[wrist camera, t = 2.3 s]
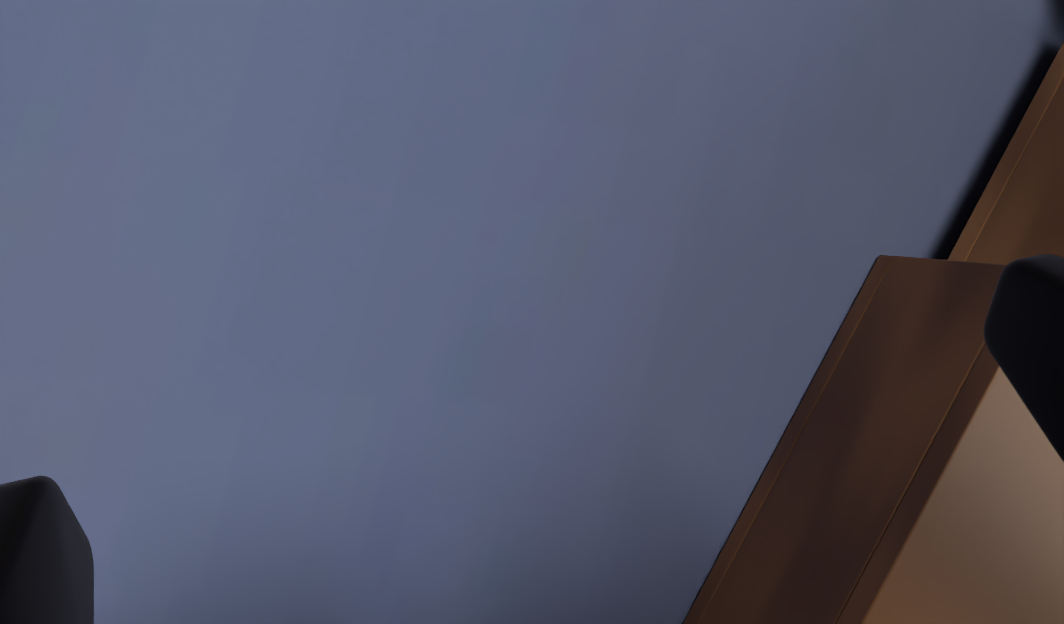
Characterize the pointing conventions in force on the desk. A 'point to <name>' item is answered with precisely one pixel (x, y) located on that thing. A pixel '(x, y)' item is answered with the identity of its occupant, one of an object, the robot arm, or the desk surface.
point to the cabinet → (902, 476)
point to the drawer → (1024, 186)
